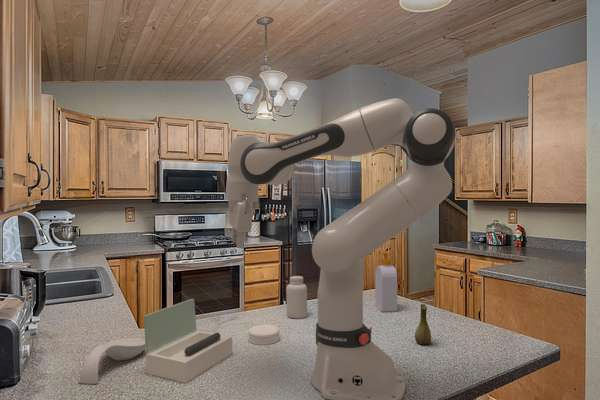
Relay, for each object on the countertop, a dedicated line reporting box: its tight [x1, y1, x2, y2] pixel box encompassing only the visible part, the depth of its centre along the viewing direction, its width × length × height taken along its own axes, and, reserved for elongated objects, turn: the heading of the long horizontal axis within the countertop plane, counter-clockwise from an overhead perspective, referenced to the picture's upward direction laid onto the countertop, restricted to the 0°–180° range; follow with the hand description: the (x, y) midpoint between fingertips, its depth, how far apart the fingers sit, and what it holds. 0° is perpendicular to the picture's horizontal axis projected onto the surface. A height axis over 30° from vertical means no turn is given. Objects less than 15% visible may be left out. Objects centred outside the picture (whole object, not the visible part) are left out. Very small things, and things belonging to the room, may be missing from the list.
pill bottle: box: [285, 275, 308, 320], centre depth 151 cm, size 8×8×15 cm
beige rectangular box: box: [145, 330, 233, 384], centre depth 108 cm, size 13×20×5 cm, turn 155°
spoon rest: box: [79, 337, 146, 385], centre depth 107 cm, size 24×12×7 cm, turn 176°
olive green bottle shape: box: [414, 303, 432, 345], centre depth 122 cm, size 6×5×12 cm
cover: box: [143, 298, 197, 353], centre depth 111 cm, size 10×19×1 cm
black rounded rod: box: [184, 332, 221, 355], centre depth 106 cm, size 2×14×2 cm, turn 155°
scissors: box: [203, 314, 240, 334], centre depth 142 cm, size 11×1×20 cm
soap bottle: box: [374, 252, 398, 313], centre depth 160 cm, size 9×7×23 cm
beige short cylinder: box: [247, 324, 281, 346], centre depth 126 cm, size 10×10×4 cm
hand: (237, 244), depth 107 cm, fingers open, 8 cm apart
